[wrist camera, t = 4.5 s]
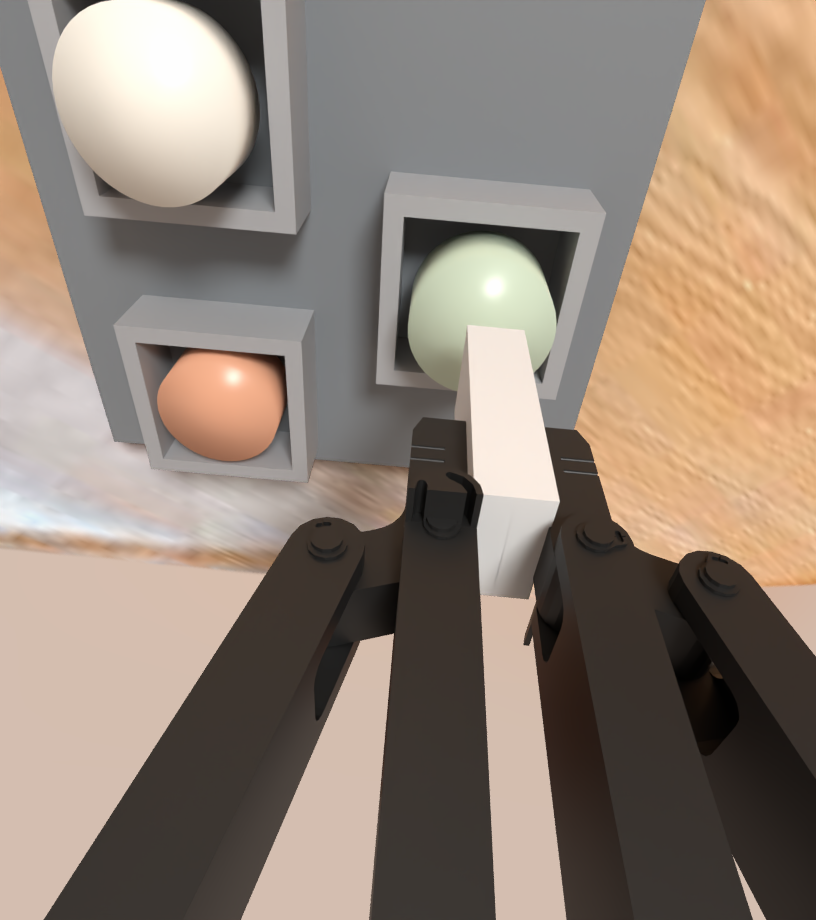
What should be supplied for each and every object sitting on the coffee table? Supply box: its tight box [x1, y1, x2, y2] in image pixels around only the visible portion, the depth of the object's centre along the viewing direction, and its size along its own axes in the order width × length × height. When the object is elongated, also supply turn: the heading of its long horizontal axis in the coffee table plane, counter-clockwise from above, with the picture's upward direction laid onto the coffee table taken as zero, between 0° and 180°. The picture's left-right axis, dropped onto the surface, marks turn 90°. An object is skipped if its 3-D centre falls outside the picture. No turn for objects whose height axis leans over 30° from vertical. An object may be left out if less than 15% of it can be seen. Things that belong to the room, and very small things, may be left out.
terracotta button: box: [157, 347, 288, 461], centre depth 23 cm, size 4×4×2 cm
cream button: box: [52, 0, 260, 207], centre depth 15 cm, size 4×4×2 cm
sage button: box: [408, 230, 556, 391], centre depth 19 cm, size 4×4×2 cm
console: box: [0, 0, 706, 483], centre depth 21 cm, size 20×18×4 cm
